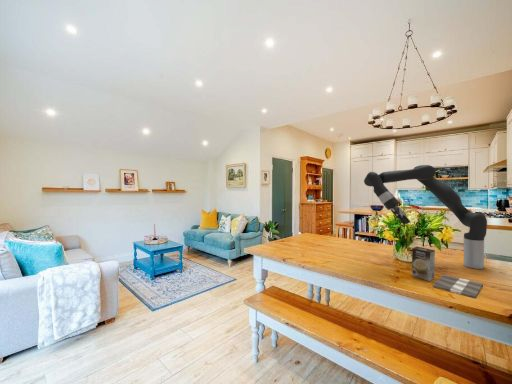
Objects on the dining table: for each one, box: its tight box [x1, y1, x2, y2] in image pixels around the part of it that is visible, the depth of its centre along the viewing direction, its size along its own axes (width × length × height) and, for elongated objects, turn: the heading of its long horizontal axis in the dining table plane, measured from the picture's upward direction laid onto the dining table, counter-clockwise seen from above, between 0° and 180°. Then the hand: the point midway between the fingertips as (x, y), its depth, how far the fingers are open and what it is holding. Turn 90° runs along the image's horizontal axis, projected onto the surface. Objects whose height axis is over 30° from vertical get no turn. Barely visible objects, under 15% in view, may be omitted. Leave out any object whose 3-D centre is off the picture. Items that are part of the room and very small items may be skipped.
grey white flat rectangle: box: [432, 274, 484, 299], centre depth 119 cm, size 20×16×1 cm
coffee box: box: [411, 246, 436, 282], centre depth 130 cm, size 9×6×16 cm
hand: (407, 223), depth 134 cm, fingers open, 8 cm apart
